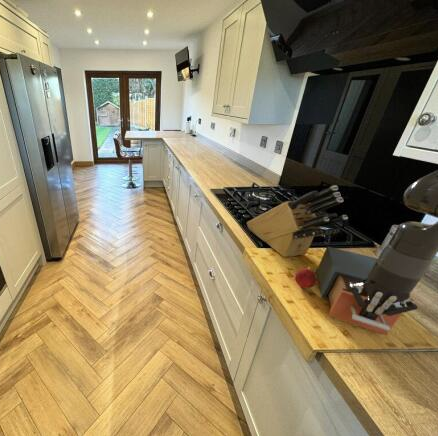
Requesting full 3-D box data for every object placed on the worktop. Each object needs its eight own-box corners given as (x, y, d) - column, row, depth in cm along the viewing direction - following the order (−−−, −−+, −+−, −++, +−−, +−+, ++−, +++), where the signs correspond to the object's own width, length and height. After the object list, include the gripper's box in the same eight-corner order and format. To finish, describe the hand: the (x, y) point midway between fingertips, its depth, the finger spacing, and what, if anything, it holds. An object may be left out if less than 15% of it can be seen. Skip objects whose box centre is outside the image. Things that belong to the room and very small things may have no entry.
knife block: (301, 273, 85) (335, 193, 72) (244, 227, 116) (260, 165, 102) (326, 270, 88) (363, 192, 74) (264, 226, 118) (282, 165, 105)
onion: (316, 291, 77) (325, 272, 74) (302, 294, 76) (311, 275, 72) (301, 279, 82) (309, 261, 79) (288, 282, 81) (295, 263, 77)
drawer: (392, 350, 58) (412, 325, 54) (331, 328, 63) (345, 304, 59) (369, 299, 74) (383, 277, 70) (322, 285, 79) (332, 263, 75)
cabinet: (377, 315, 69) (395, 287, 64) (321, 298, 75) (335, 271, 70) (362, 283, 82) (377, 258, 77) (316, 270, 87) (327, 246, 82)
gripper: (431, 267, 53) (392, 320, 61) (358, 250, 59) (331, 301, 67) (449, 287, 47) (404, 343, 55) (367, 266, 53) (336, 320, 61)
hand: (364, 320), depth 61 cm, fingers closed
